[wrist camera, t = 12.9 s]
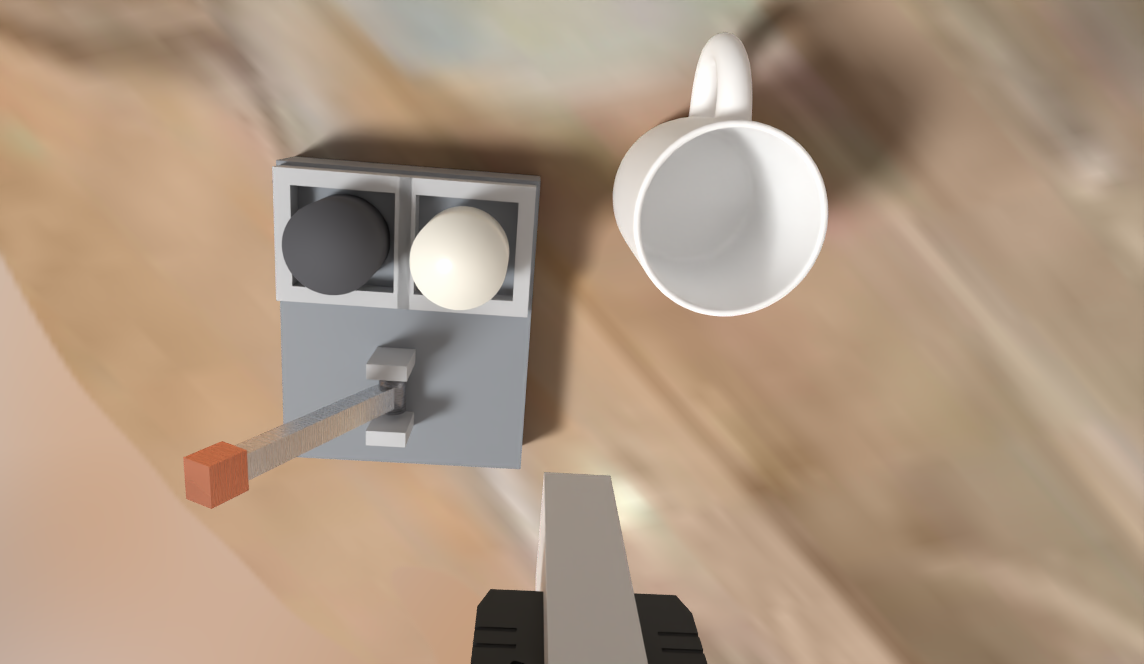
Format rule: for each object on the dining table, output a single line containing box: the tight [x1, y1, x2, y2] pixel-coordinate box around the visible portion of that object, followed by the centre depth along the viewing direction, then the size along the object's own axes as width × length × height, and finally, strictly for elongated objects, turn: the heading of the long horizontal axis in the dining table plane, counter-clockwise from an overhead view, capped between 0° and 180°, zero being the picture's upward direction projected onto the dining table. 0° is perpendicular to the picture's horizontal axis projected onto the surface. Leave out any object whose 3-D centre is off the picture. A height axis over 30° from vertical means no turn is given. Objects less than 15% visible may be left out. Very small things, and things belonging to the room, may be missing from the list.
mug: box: [613, 32, 828, 316], centre depth 36 cm, size 12×8×10 cm
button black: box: [282, 194, 390, 295], centre depth 36 cm, size 4×4×3 cm
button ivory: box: [409, 206, 509, 310], centre depth 36 cm, size 4×4×3 cm
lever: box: [183, 380, 406, 509], centre depth 35 cm, size 2×1×13 cm
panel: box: [272, 156, 540, 469], centre depth 40 cm, size 16×13×6 cm
